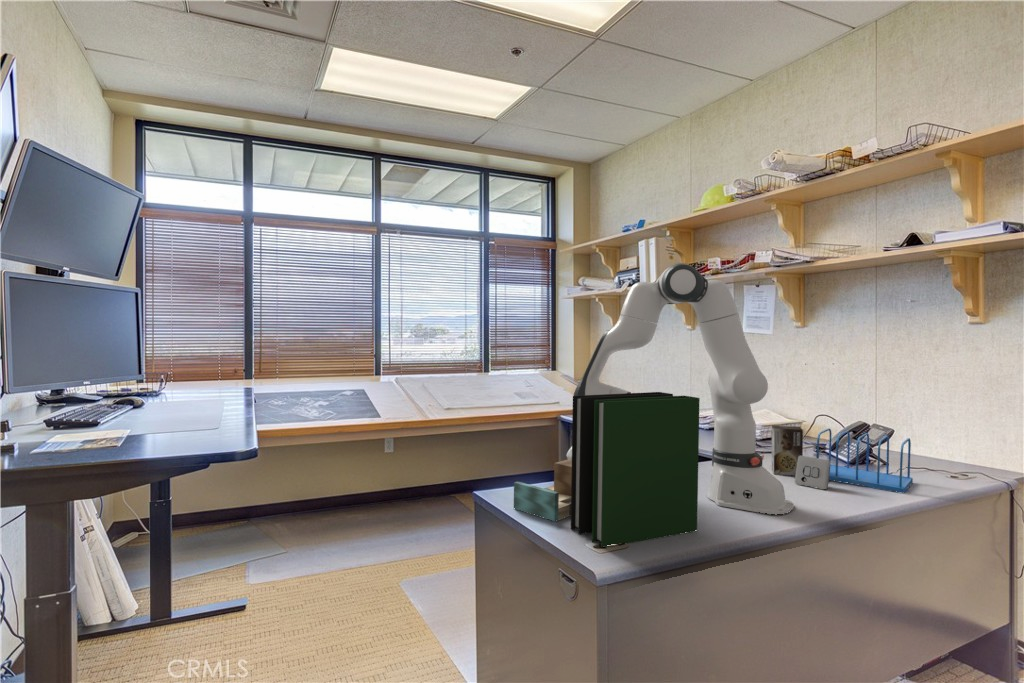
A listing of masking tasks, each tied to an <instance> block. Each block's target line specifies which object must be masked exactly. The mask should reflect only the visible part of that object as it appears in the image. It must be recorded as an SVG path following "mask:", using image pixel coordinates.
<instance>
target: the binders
mask: <svg viewBox="0 0 1024 683" xmlns="http://www.w3.org/2000/svg"><path fill="white" fill-rule="evenodd" d="M700 400H701V399H700V397H698V396H697V397H695V396H689V395H674V394H673V393H670V392H661V391H653V392H652V391H650V392H648V391H647V392H631V393H625V394H603V395H581V396H574V395H572V423H571V424H572V426H571V428H572V429H571V430H572V431H571V432H572V433H571V447H572V477H571V516H570V530H571V529H572V530H575V528H577V529H578V530H577V531H578V532H577V534H578V535H583V533H584V534H588V533H591V543H593V542H594V543H599V542H600V548H601V547H603V546H607V545H611V544H619V543H627V544H632V543H638V542H644V541H649V539H650V540H655V539H654V538H656V539H660V538H659V537H661V538H665V537H664V536H667V537H670V536H669V535H673V536H676V534H678V535H681V534H680V533H684V534H686V533H685V532H690V531H695V530H697V531H698V508H699V507H698V500H699V499H698V498H699V497H698V496H699V449H700V448H699V447H700V446H699V444H700V443H699V442H700V440H699V439H700V402H701V401H700ZM695 532H696V531H695ZM690 533H691V532H690ZM598 541H599V542H598Z"/></svg>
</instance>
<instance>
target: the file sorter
mask: <svg viewBox="0 0 1024 683" xmlns="http://www.w3.org/2000/svg"><path fill="white" fill-rule="evenodd" d="M826 432H829V438H828V439H829V440H828V445H829V446H828V460H829V461H830V464H831V463H832V462H831V460H832V459H831V458H832V457H831V456H832V429H831V428H826V429H824V430H821V431H820V432H818V435H817V439H816V458H819V456H820V437H821V435H822V434H824V433H826ZM845 434H847V458H846V460H847V461H846V466H841V465H839V442H840V441H839V440H840V438H841V436H843V435H845ZM864 437H866V463H865V464H866V469H861V468H859V462H860V461H859V459H860V458H859V457H860V456H859V454H860V452H859V450H860V441H861V439H863V438H864ZM884 440H886V470H885V471H886V472H880V467H881V466H880V465H881V464H880V463H881V445H882V442H883V441H884ZM850 441H851V435H850V431H849V430H845V431H843V432H841V433H840V434H838V435H837V438H836V442H835V445H836V446H835V464H831V466H830V474H829V481H832V480H835V481H834V482H837V481H841V482H840V483H843V482H848V483H853V484H852V485H854V484H859V485H858V486H860V485H864V486H863V487H865V486H868V487H867V488H871V487H874V488H873V489H876V488H879V489H878V490H882V489H885V490H884V491H887V490H891V491H890V492H892V491H897V492H896V493H898V492H905V493H906V492H907V490H908V489H909V488H910V486H911V485H912V484H913V483H912V482H913V480H914V479H913V477H911V476H910V475H911V451H912V450H911V448H912V447H911V444H912V443H911V442H912V440H911V438H910V437H907V438H906V439H905V440H903V442H902V443H901V446H900V454H899V456H900V458H899V459H900V461H899V475H898V474H891V473H889V472H890V471H889V470H890V469H889V462H890V437H889V435H884V436H883V437H882V438H881V439H879V440H878V445H877V465H876V466H877V469H876V470H877V471H873V470H869V464H870V463H869V458H870V436H869V433H868V432H866V433H864V434H862V435H860V436H858V438H857V441H856V454H855V455H856V456H855V457H856V460H855V467H850V448H851V447H850V446H851V445H850ZM907 443H908V446H907V447H908V448H907V474H906V475H907V476H903V461H904V460H903V458H904V446H905V445H906V444H907ZM819 459H820V458H819ZM848 483H847V484H848ZM908 487H909V488H908ZM907 488H908V489H907ZM906 489H907V490H906Z"/></svg>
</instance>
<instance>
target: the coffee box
mask: <svg viewBox="0 0 1024 683" xmlns="http://www.w3.org/2000/svg"><path fill="white" fill-rule="evenodd" d="M803 437H804V429H803V428H802V427H801V426H797V425H796V426H794V425H793V426H792V425H775V424H772V425H771V465H770V466H771V468H770V469H771V473H772V475H778V474H779V475H778V476H791V475H794V477H796V469H797V462H798V457H799V456H804V454H803V451H804V448H803V447H804V446H803V445H804V442H803V441H804V440H803V439H804V438H803Z"/></svg>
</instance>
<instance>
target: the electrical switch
mask: <svg viewBox="0 0 1024 683" xmlns="http://www.w3.org/2000/svg"><path fill="white" fill-rule="evenodd" d="M831 465H832V464H831V463H830V461H829V459H824V458H817V457H811V456H805V455H803V456H799V457H798V462H797V469H796V476H794V477H795V479H794V483H795V484H796V485H797V484H799V485H798V486H802V485H805V486H804V487H807V486H811V487H810V488H812V487H817V488H821V489H826V490H827V489H828V488H827V487H829V482H830V480H829V474H830V466H831ZM817 488H816V489H817ZM821 489H820V490H821Z"/></svg>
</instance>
